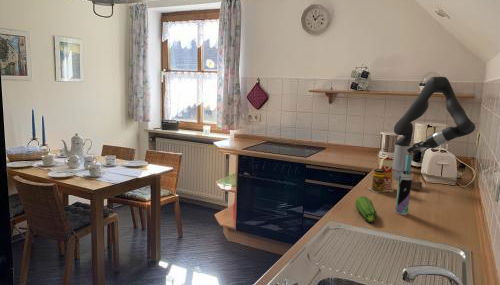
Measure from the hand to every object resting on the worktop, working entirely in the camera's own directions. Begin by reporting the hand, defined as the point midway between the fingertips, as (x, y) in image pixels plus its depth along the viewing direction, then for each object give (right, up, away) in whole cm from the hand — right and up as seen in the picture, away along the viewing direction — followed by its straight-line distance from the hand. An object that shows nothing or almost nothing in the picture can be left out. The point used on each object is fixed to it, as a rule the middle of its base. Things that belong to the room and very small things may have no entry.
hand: (410, 151), depth 228 cm
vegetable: (-43, -28, -57) cm, 77 cm away
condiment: (-25, -21, -15) cm, 36 cm away
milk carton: (-20, -21, -12) cm, 31 cm away
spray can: (-25, -27, -50) cm, 63 cm away
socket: (-2, -21, -8) cm, 22 cm away
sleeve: (-1, -18, +9) cm, 20 cm away
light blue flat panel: (-1, -17, +5) cm, 18 cm away
